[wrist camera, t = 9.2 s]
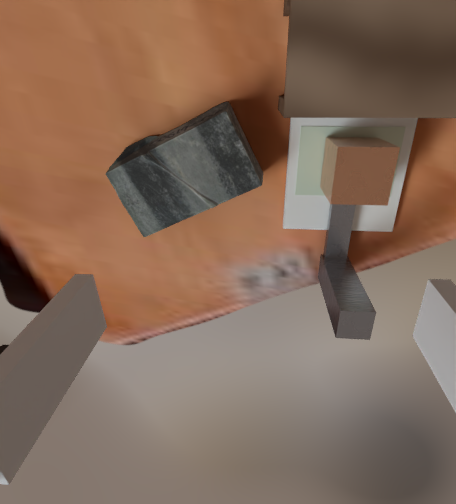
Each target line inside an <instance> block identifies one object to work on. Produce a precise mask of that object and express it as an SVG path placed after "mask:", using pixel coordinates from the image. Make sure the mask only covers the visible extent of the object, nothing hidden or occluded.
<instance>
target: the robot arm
mask: <svg viewBox="0 0 456 504" xmlns="http://www.w3.org/2000/svg"><path fill="white" fill-rule="evenodd" d="M106 327H107V325H106V321H105V318H104V314H103V310H102V306H101V303H100V299H99V295H98V292H97V288H96V284H95V280H94V277H93V274H75V275H74V276H73V277H72V278H71V279H70V280H69V282H68V283H67V284H66V285H65V286H64V287H63V288H62V289H61V290H60V291H59V292H58V293H57V294H56V295H55V297H54V298H53V299H52V300H51V301H50V302H49V303H48V304H47V305H46V306H45V307H44V308H43V309H42V310H41V312H40V313H39V314H38V315H37V316H36V317H35V318H34V319H33V320H32V321H31V322H30V323H29V324H28V325H27V327H26V328H25V329H24V330H23V331H22V332H21V333H20V334H19V335H18V336H17V337H16V339H14V340H13V342H12V343H11V344H10V345H2V346H0V484H7V485H9V484H10V483H11V481H12V479H13V478H14V476H15V474H16V473H17V471H18V470H19V468H20V466H21V465H22V463H23V462H24V460H25V458H26V457H27V455H28V453H29V452H30V450H31V449H32V447H33V445H34V444H35V442H36V440H37V439H38V437H39V436H40V434H41V432H42V431H43V429H44V427H45V426H46V424H47V423H48V421H49V419H50V418H51V416H52V415H53V413H54V411H55V410H56V408H57V406H58V405H59V403H60V402H61V400H62V398H63V397H64V395H65V394H66V392H67V390H68V389H69V387H70V385H71V384H72V382H73V381H74V379H75V377H76V376H77V374H78V373H79V371H80V369H81V368H82V366H83V364H84V363H85V361H86V360H87V358H88V356H89V355H90V353H91V351H92V350H93V348H94V347H95V345H96V343H97V342H98V340H99V339H100V337H101V335H102V334H103V332H104V330H105V329H106ZM413 337H414V339H415V341H416V343H417V345H418V346H419V348H420V350H421V352H422V354H423V355H424V357H425V359H426V360H427V363H428V364H429V366H430V368H431V370H432V371H433V373H434V375H435V377H436V379H437V380H438V382H439V384H440V386H441V387H442V389H443V391H444V393H445V395H446V396H447V398H448V400H449V401H450V403H451V405H452V407H453V409H454V410H455V412H456V286H455V284H454V283H453V282H452V281H451V280H441V279H439V280H438V279H429V280H428V282H427V286H426V290H425V293H424V297H423V301H422V304H421V308H420V311H419V315H418V319H417V322H416V325H415V329H414V333H413Z"/></svg>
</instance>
